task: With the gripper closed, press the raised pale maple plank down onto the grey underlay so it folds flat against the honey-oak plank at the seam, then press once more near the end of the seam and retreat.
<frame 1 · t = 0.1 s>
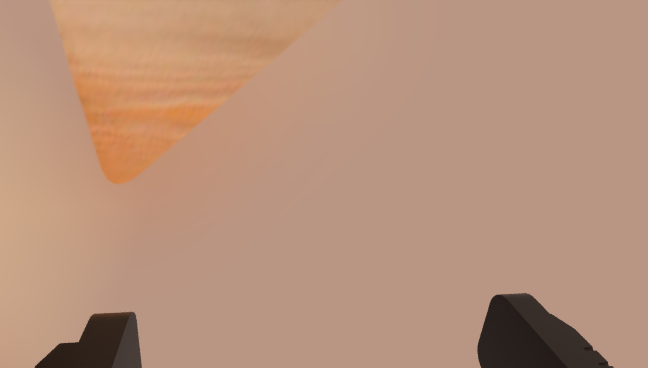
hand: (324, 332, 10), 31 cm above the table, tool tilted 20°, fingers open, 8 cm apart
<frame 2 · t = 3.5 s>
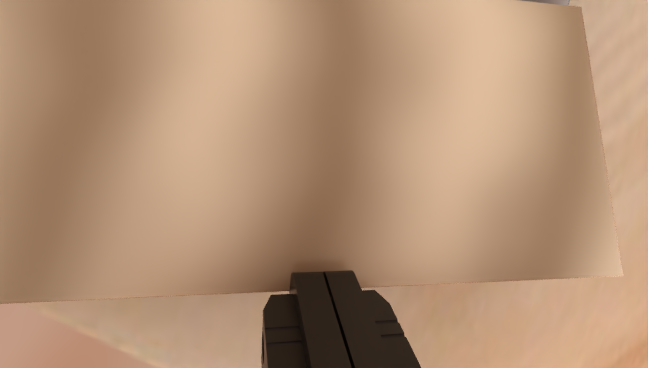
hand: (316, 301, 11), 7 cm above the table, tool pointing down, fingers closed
plank: (306, 129, 12), point 4 cm above the table, hinge at 34.3°, touching gripper
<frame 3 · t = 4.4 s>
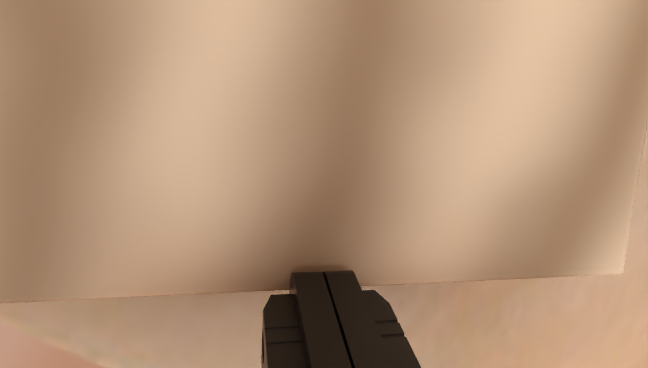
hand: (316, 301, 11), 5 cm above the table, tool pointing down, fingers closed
plank: (316, 111, 10), point 3 cm above the table, hinge at 14.5°, touching gripper
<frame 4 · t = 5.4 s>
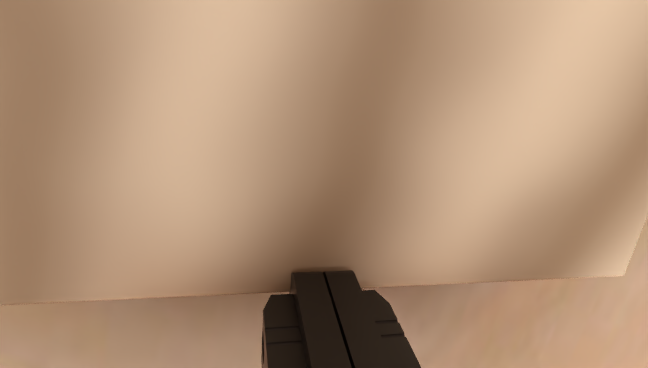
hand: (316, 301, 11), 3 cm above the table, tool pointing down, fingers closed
plank: (324, 111, 9), point 2 cm above the table, hinge at 2.3°, touching gripper
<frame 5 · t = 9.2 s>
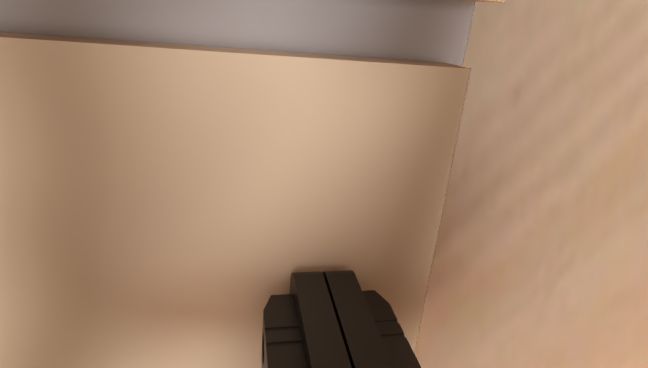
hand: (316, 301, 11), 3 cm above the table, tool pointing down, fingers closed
plank: (45, 239, 9), point 2 cm above the table, hinge at 2.1°, touching gripper
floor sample: (48, 14, 9), on the table
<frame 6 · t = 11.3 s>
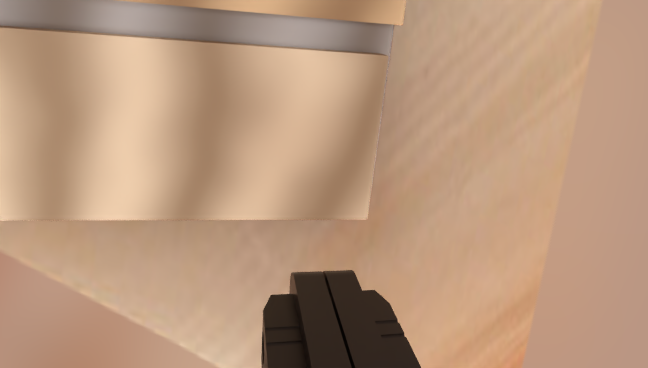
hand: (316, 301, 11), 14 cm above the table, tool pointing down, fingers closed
plank: (192, 134, 20), point 2 cm above the table, hinge at 1.2°
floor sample: (194, 30, 20), on the table
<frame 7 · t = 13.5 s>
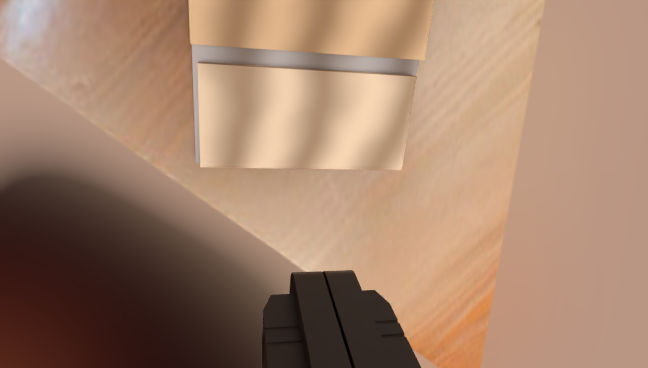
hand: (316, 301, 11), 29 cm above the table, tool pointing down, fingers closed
plank: (308, 119, 37), point 2 cm above the table, hinge at 1.2°
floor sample: (308, 62, 37), on the table
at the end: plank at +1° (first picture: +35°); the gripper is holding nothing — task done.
